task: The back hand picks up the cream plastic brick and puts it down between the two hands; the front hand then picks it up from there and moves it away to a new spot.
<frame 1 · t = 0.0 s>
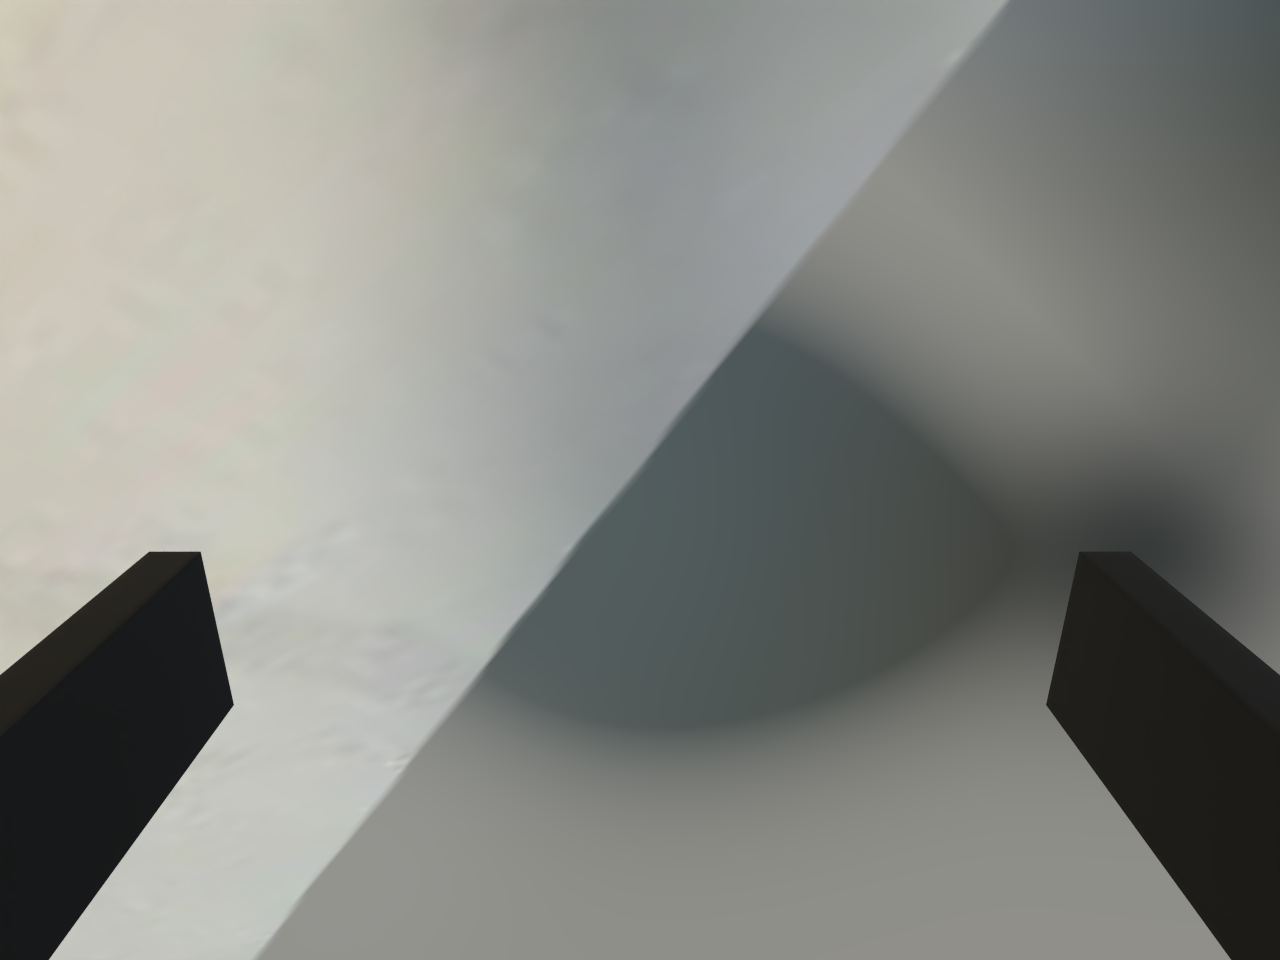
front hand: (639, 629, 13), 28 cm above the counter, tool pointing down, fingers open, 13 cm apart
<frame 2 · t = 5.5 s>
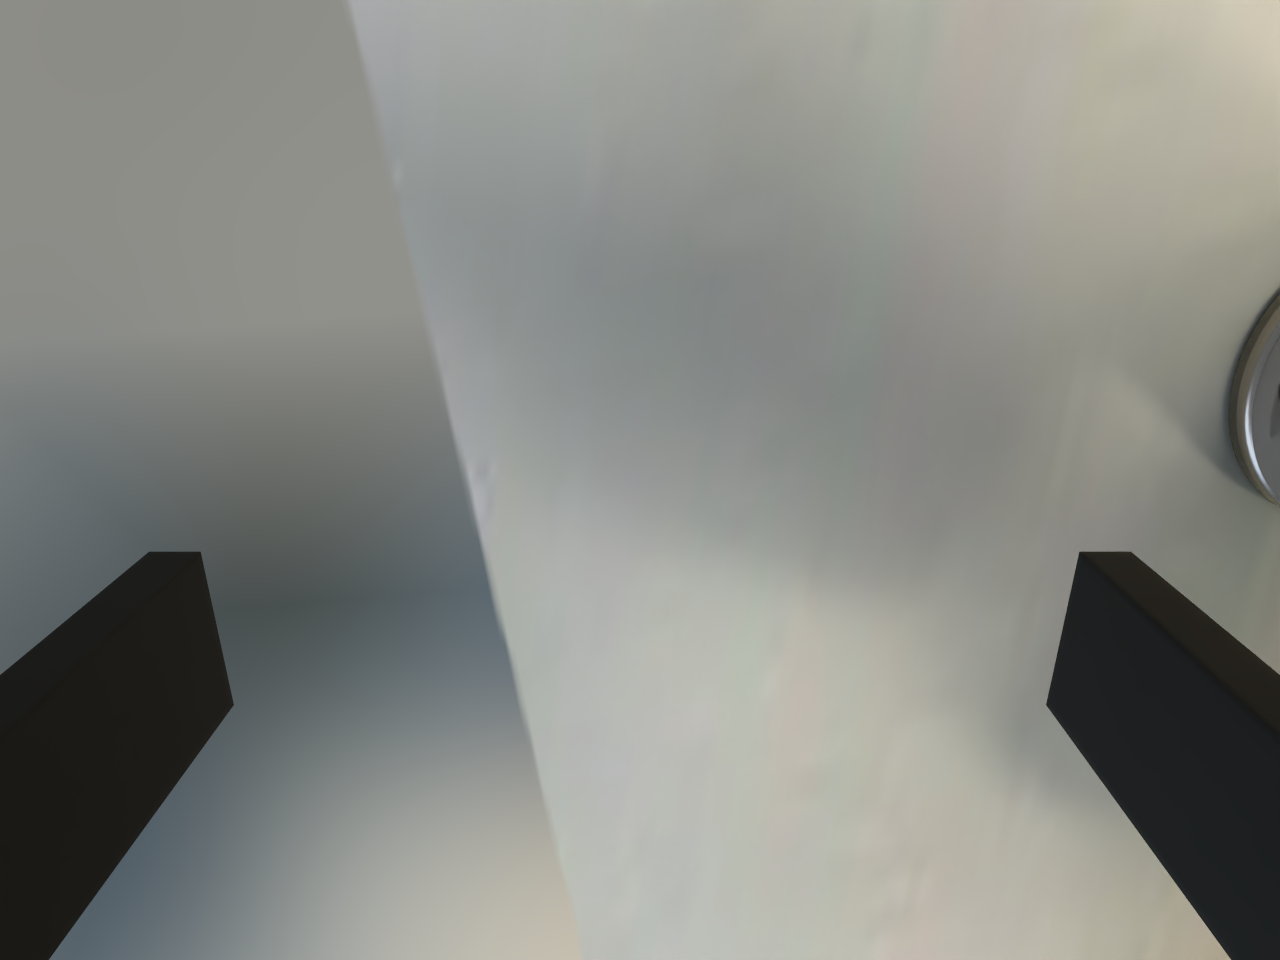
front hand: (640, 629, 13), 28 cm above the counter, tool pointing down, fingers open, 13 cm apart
when the back hand's fingers open (5 cm above the counter, at t = 13.7 s): brick drops 2 cm, on the counter.
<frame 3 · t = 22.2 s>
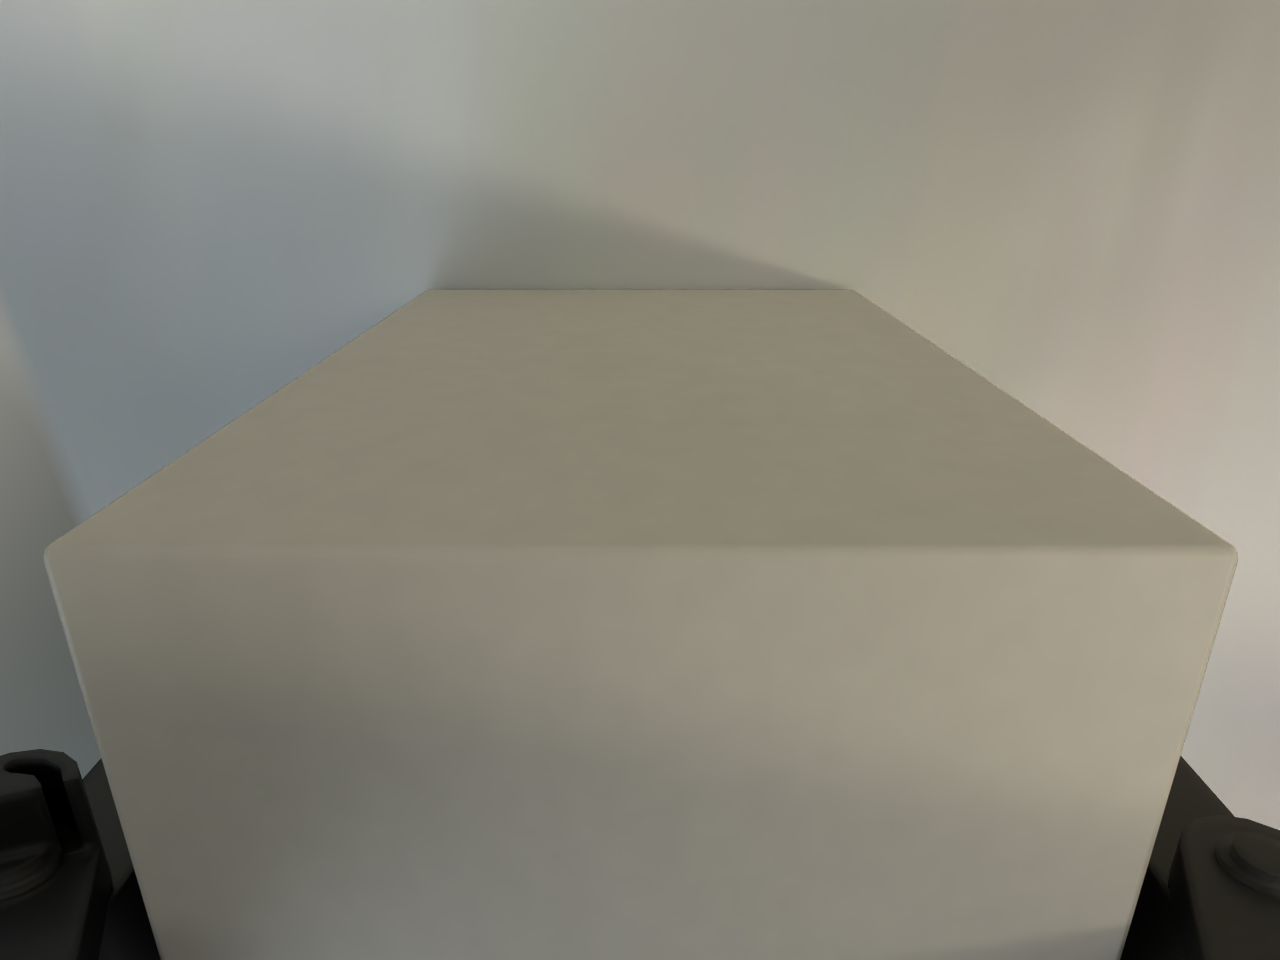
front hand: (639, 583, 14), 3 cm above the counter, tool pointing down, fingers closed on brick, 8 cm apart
brick: (640, 509, 17), on the counter, touching front hand
when the front hand's fingers open (5 cm above the counter, at t = 33.5 s): brick drops 2 cm, on the counter.
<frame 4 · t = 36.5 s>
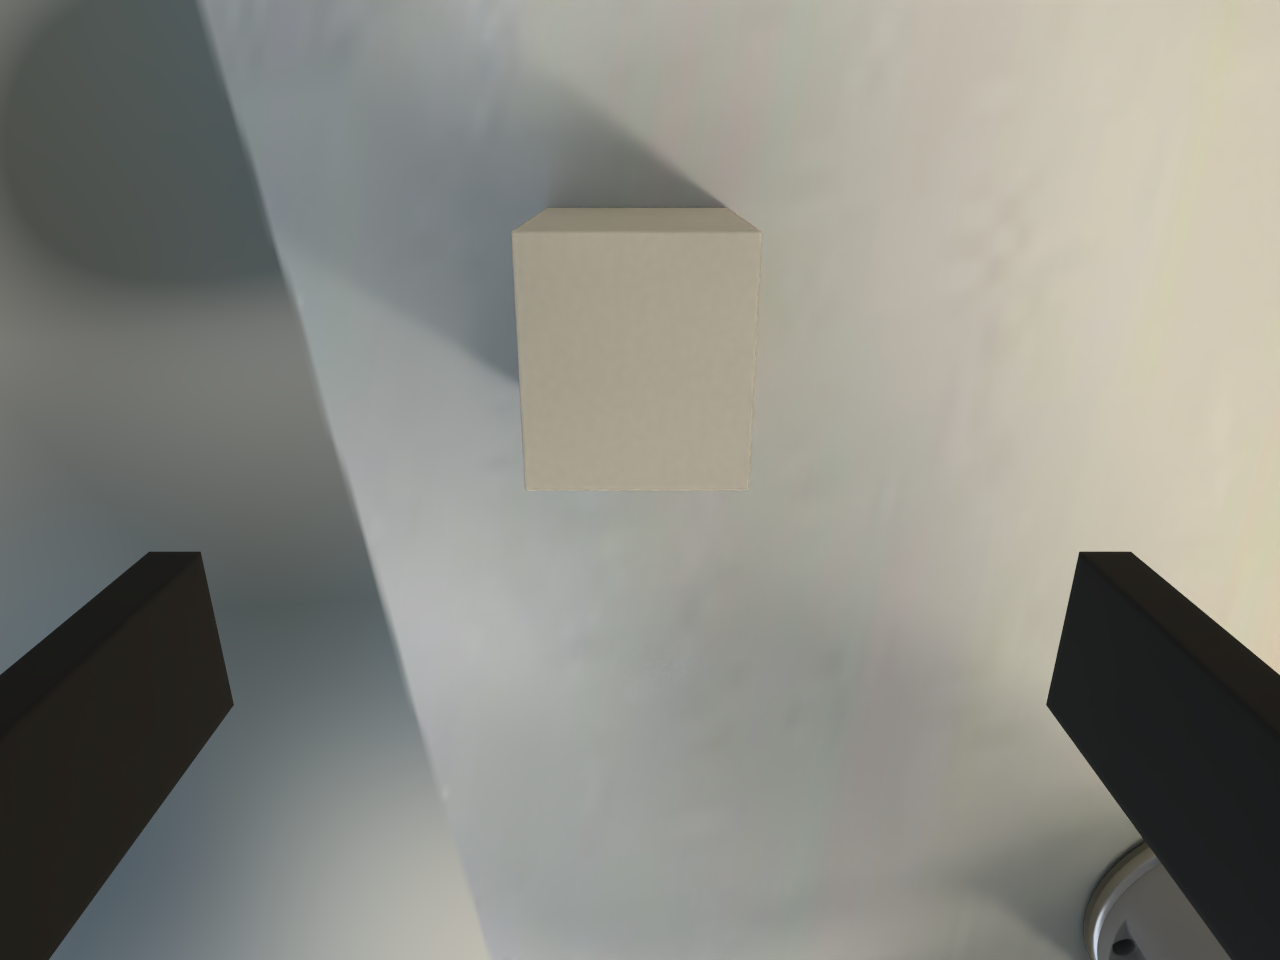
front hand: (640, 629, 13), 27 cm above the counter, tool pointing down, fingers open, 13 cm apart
brick: (637, 310, 38), on the counter
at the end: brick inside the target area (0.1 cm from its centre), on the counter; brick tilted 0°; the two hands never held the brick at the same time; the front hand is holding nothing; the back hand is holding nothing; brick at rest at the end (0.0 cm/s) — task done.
